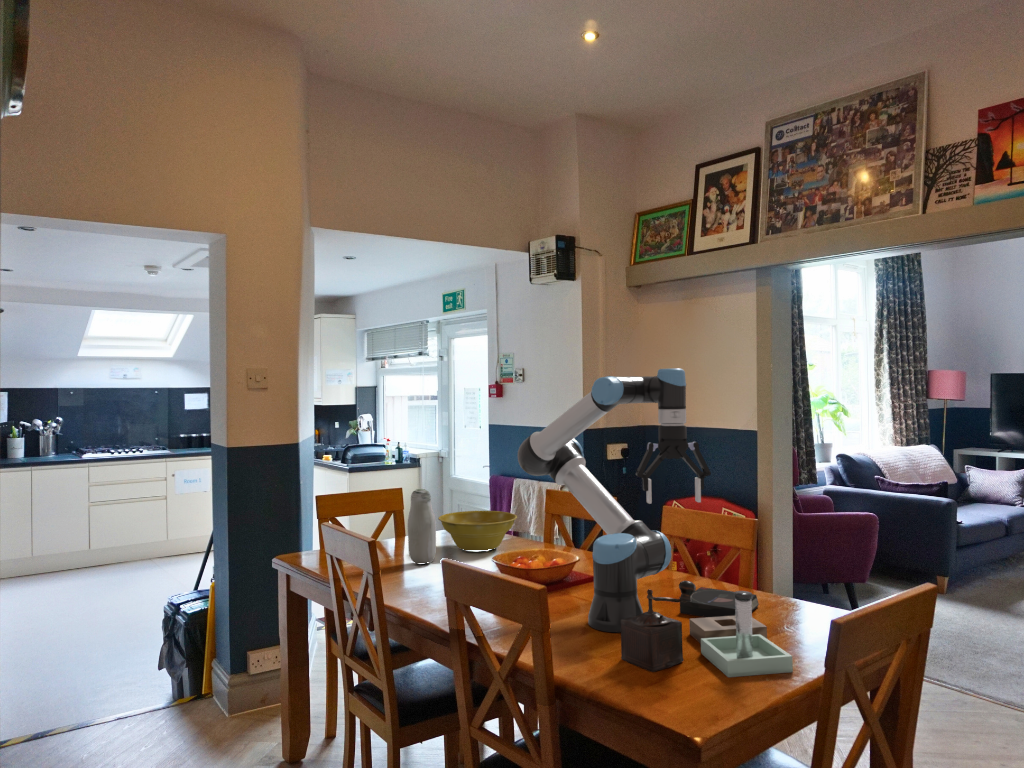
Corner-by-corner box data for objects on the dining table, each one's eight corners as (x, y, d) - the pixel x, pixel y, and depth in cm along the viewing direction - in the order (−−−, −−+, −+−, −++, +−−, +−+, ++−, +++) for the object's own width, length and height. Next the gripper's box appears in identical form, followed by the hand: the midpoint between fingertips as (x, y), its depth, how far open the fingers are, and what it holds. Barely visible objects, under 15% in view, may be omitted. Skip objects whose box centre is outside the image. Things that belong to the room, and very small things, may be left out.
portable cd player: (740, 624, 195) (740, 609, 195) (680, 614, 205) (679, 600, 205) (758, 609, 209) (758, 595, 209) (701, 600, 218) (701, 587, 219)
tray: (728, 677, 158) (727, 661, 158) (701, 653, 173) (700, 638, 173) (792, 672, 160) (792, 656, 160) (760, 648, 175) (760, 634, 175)
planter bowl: (532, 545, 302) (531, 513, 302) (489, 561, 275) (488, 525, 275) (469, 538, 319) (468, 508, 319) (422, 553, 292) (422, 519, 292)
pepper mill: (654, 673, 161) (652, 592, 162) (620, 659, 170) (618, 582, 171) (701, 658, 170) (699, 581, 170) (666, 645, 179) (664, 572, 179)
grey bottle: (441, 562, 275) (439, 488, 275) (424, 568, 266) (422, 491, 266) (421, 559, 280) (419, 487, 280) (403, 565, 271) (401, 490, 272)
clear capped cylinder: (740, 662, 164) (738, 596, 165) (732, 656, 168) (731, 591, 169) (757, 661, 165) (755, 595, 165) (749, 655, 169) (747, 590, 169)
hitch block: (705, 647, 177) (704, 631, 177) (689, 634, 187) (689, 618, 187) (767, 642, 179) (766, 626, 179) (748, 630, 189) (748, 614, 189)
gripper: (630, 426, 195) (631, 505, 194) (721, 424, 196) (723, 503, 196) (624, 424, 202) (625, 501, 202) (712, 423, 204) (713, 499, 203)
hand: (673, 502), depth 199 cm, fingers open, 13 cm apart
